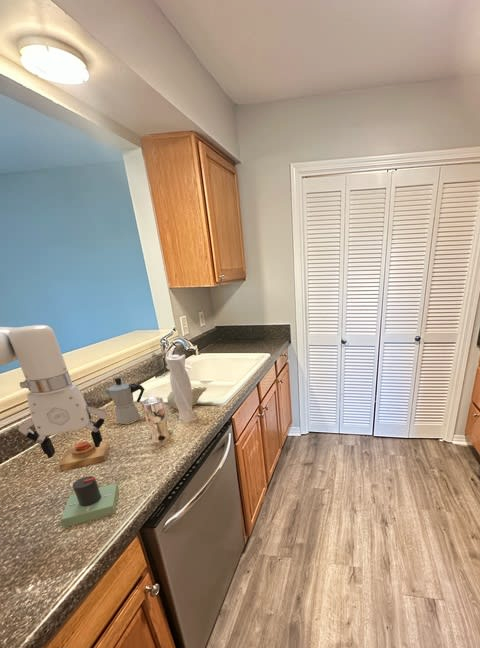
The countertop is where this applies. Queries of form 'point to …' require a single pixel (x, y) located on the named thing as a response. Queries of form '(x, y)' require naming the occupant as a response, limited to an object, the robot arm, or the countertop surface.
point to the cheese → (195, 396)
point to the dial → (87, 491)
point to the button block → (84, 456)
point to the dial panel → (90, 507)
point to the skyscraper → (181, 386)
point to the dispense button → (82, 446)
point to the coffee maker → (125, 400)
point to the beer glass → (156, 419)
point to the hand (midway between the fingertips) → (75, 449)
